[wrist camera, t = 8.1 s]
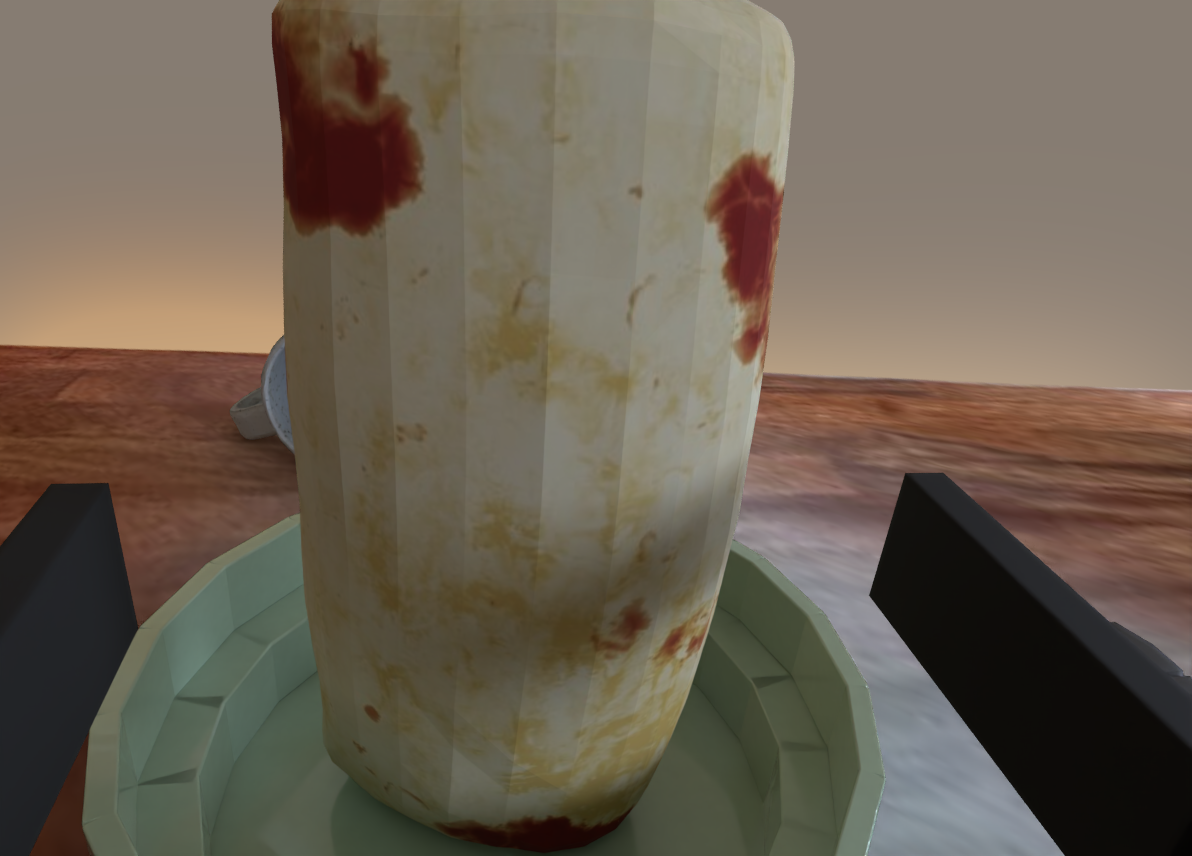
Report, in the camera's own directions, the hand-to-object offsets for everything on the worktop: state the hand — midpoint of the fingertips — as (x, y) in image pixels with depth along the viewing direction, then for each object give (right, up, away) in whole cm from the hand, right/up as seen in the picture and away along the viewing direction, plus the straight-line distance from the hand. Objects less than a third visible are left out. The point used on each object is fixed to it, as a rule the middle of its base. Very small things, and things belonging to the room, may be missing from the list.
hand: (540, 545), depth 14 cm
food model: (-2, -8, +9) cm, 12 cm away
